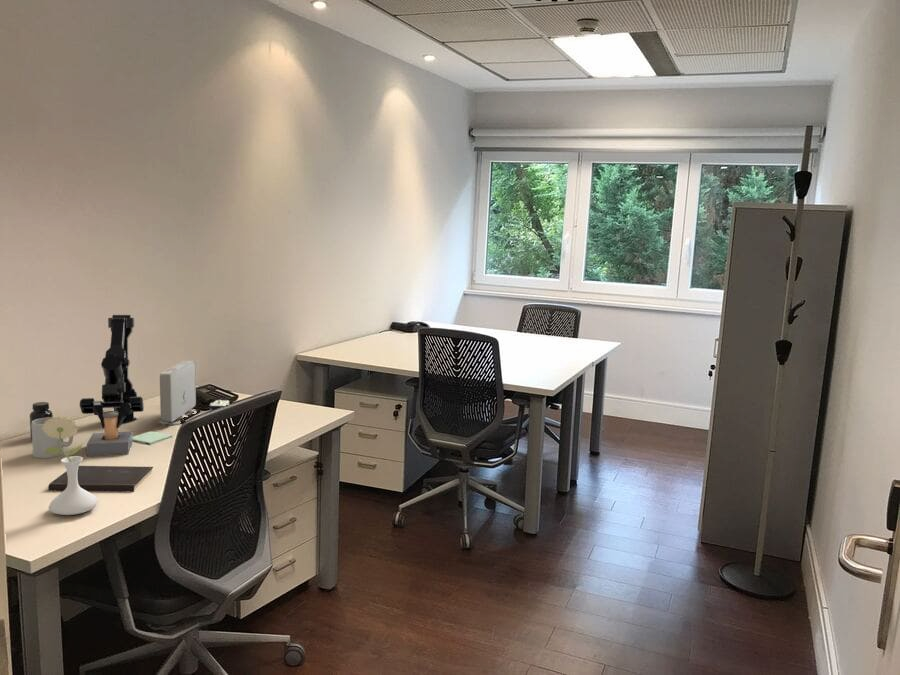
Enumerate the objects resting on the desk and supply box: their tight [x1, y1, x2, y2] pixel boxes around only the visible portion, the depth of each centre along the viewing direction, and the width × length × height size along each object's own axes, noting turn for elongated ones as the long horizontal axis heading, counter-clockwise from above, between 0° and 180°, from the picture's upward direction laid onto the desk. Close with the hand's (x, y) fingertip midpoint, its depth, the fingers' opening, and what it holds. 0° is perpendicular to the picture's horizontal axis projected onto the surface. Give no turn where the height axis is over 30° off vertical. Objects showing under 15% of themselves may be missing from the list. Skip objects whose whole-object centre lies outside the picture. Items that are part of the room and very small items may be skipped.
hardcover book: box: [47, 465, 154, 493], centre depth 209 cm, size 16×23×2 cm
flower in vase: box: [42, 416, 99, 516], centre depth 186 cm, size 13×11×25 cm
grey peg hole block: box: [86, 431, 134, 457], centre depth 236 cm, size 12×12×4 cm
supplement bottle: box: [29, 401, 54, 440], centre depth 245 cm, size 7×7×12 cm
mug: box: [31, 416, 74, 459], centre depth 229 cm, size 12×8×11 cm
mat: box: [133, 430, 173, 445], centre depth 250 cm, size 10×10×1 cm
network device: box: [159, 360, 198, 426], centre depth 275 cm, size 26×9×20 cm, turn 179°
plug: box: [103, 410, 119, 440], centre depth 236 cm, size 5×5×12 cm
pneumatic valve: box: [208, 399, 230, 411], centre depth 259 cm, size 6×12×12 cm, turn 3°
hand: (110, 427), depth 234 cm, fingers closed on plug, 4 cm apart
